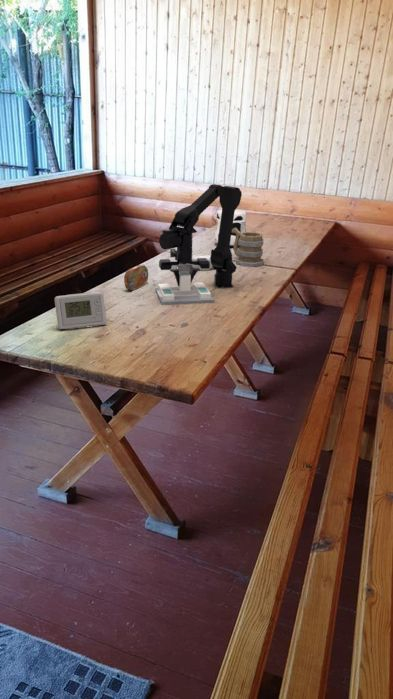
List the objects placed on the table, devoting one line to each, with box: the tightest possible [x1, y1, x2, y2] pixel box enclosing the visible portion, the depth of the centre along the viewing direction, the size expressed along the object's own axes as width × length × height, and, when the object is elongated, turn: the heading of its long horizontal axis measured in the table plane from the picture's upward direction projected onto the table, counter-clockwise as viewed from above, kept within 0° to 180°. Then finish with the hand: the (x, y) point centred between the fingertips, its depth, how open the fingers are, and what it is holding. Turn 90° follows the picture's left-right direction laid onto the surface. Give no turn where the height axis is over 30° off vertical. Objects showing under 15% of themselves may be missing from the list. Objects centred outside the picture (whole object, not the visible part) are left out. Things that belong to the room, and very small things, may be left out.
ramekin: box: [192, 253, 213, 271], centre depth 251 cm, size 11×11×5 cm
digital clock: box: [54, 291, 108, 330], centre depth 180 cm, size 16×9×11 cm, turn 101°
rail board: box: [154, 281, 215, 306], centre depth 213 cm, size 20×18×3 cm
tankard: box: [232, 228, 264, 268], centre depth 262 cm, size 20×13×15 cm, turn 34°
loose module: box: [177, 272, 192, 291], centre depth 211 cm, size 4×6×6 cm, turn 12°
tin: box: [123, 264, 149, 291], centre depth 221 cm, size 15×3×8 cm, turn 154°
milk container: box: [213, 208, 247, 248], centre depth 293 cm, size 17×17×18 cm
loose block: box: [177, 266, 190, 273], centre depth 243 cm, size 5×5×4 cm
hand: (184, 285), depth 212 cm, fingers closed on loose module, 4 cm apart
